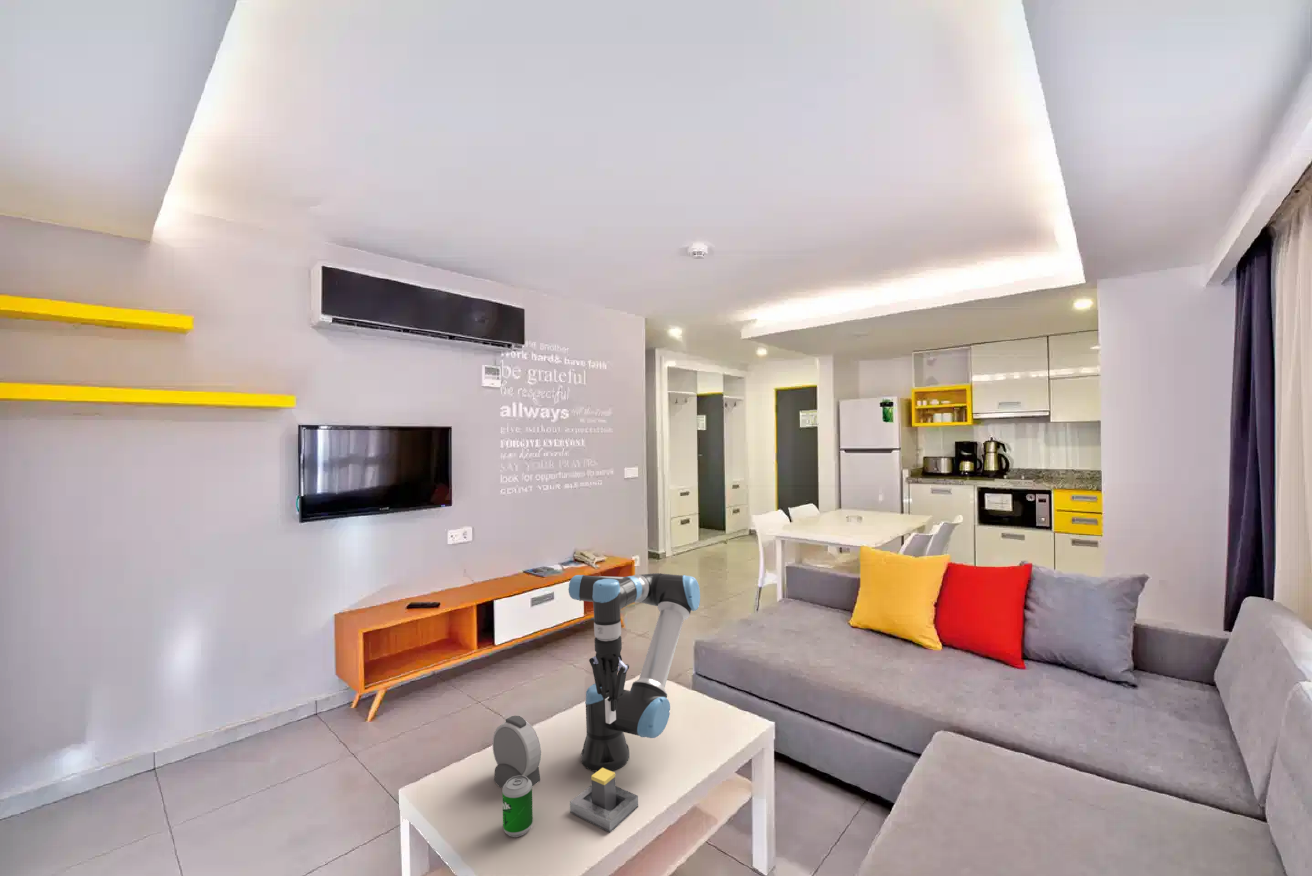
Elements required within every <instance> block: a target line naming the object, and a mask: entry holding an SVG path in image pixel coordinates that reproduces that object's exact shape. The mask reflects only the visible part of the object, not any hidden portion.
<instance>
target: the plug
mask: <svg viewBox="0 0 1312 876" xmlns="http://www.w3.org/2000/svg"><path fill="white" fill-rule="evenodd" d="M590 778H591V781H590V783H591V785H592V803H593V804H595V805H597V806H599V807H601V808H603V809H605V810H607V811H609V812H610V811H611V810H612V809H614V808H615V807H616V772H615V771H610V770H607V769H605V768H601V769H600V770H599V771H595V773H593V774H591V777H590Z"/></svg>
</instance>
